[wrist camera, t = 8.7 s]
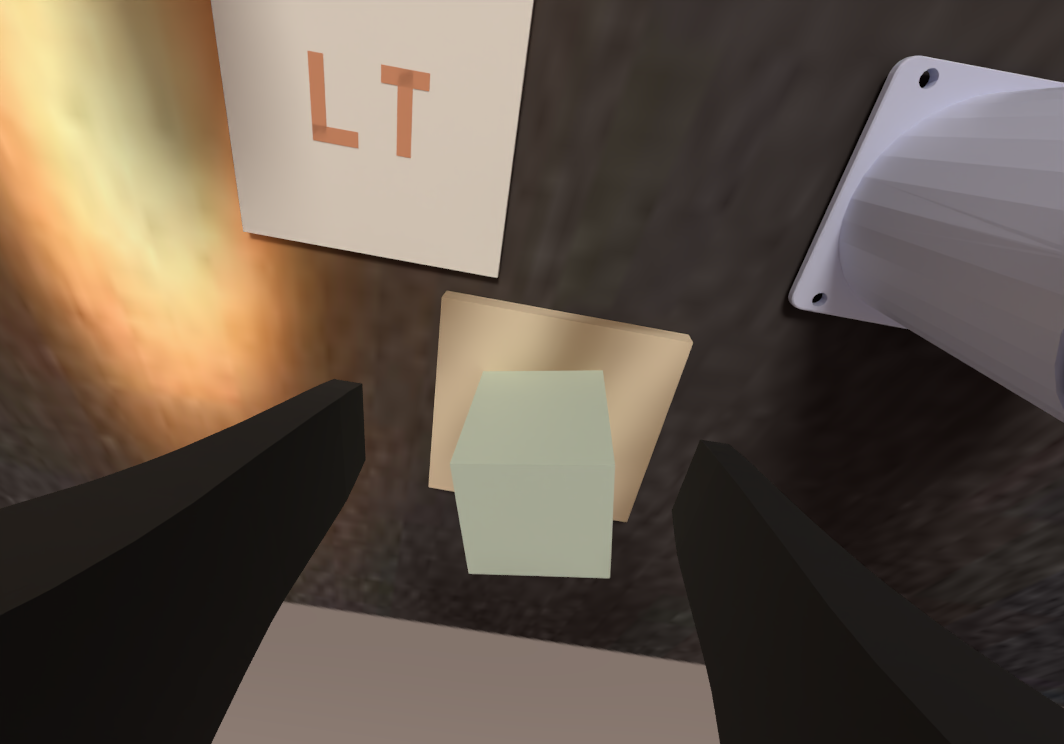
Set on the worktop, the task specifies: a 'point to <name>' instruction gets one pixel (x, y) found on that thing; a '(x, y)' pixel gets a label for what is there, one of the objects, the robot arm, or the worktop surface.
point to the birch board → (556, 345)
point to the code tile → (376, 122)
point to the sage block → (536, 475)
